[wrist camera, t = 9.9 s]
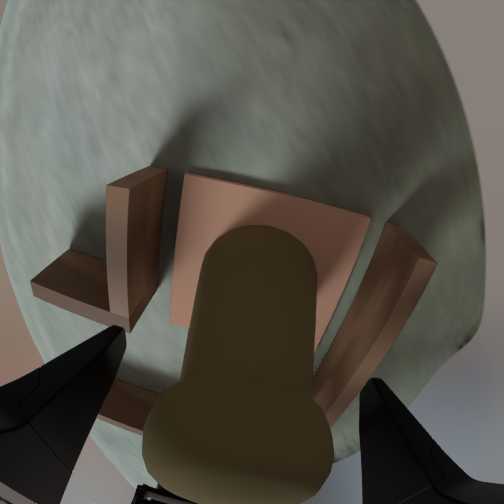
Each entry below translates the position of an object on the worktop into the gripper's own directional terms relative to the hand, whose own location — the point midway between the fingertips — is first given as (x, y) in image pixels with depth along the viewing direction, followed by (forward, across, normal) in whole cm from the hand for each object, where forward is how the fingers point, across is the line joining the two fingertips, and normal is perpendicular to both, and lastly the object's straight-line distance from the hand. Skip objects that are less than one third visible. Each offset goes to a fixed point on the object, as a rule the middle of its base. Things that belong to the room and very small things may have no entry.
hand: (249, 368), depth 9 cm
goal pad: (+6, 0, 0) cm, 7 cm away
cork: (+6, 0, 0) cm, 6 cm away
